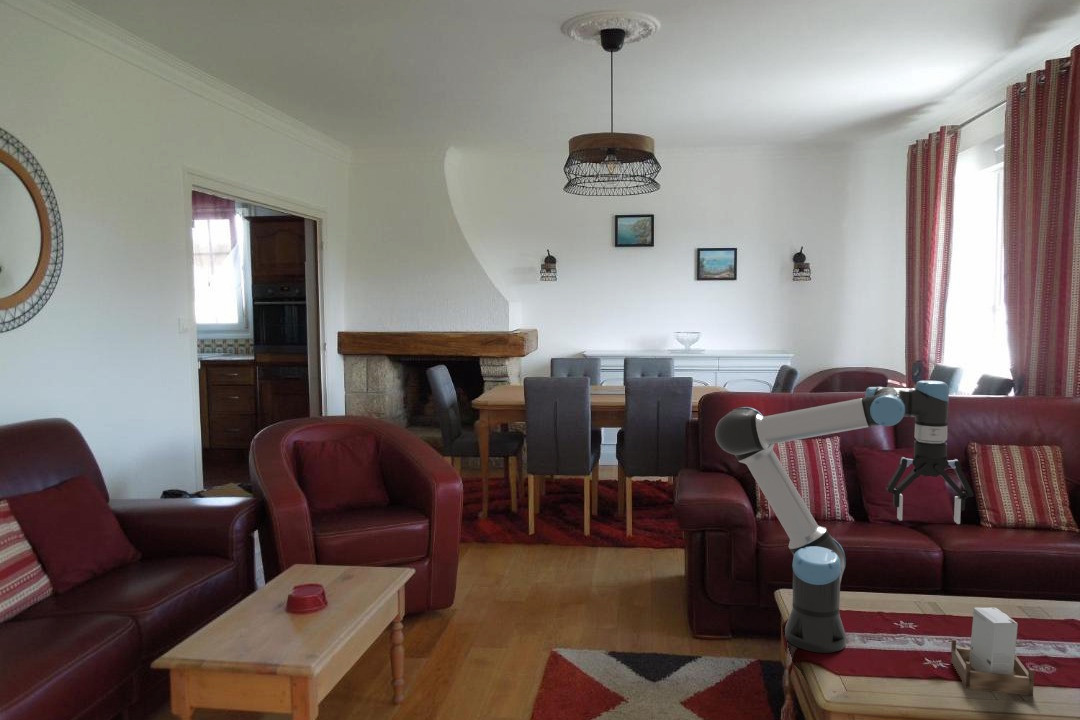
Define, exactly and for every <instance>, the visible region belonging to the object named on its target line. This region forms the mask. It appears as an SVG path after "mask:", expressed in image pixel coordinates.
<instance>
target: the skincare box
mask: <svg viewBox="0 0 1080 720" xmlns="http://www.w3.org/2000/svg"><path fill="white" fill-rule="evenodd" d="M1018 625H1019V624H1018V622H1016V621H1015V620H1014V619H1013V618H1011V617H1009V614H1006V613H1005V612H1002V611H1001V610H1000V609H998V608H997V607H973V615H972V626H971V637H970V646H969V647H970V657H969V662H970V664H971V667H972V668H973V669H974V670H976V671H979V672H989V673H998V674H1007V675H1013V670H1014V659H1015V655H1016V645H1017V637H1018Z"/></svg>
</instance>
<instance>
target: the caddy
mask: <svg viewBox="0 0 1080 720" xmlns="http://www.w3.org/2000/svg"><path fill="white" fill-rule="evenodd" d="M950 644H951V648H950V650H951V651H950V663H951V665H952V664H953V665H952V666H954V667H955V668H954V667H953V668H954V670H955V669H956V670H955V671H957V672H956V673H958V674H959V675H958V674H957V675H958V677H959V676H960V677H959V679H960V678H961V679H960V681H961V680H962V681H961V682H962V684H963V686H964V688H965V689H968V690H978V691H985V692H995V693H1004V694H1014V695H1022V696H1030V697H1031V696H1032V697H1033V696H1034V681H1035V680H1034V679H1035V670H1034V669H1033V668H1028V669H1027V668H1026V667H1025V665H1024V664H1023V663H1022V662H1021V660H1020V659H1019V658H1018V657H1017V655H1016V654H1015V659H1014V670H1013V675H1007V674H998V673H989V672H979V671H976V670H974V669H973V668H972V667H971V664H970V662H969V657H970V648H969V647H961V646H957V640H956V638H951V643H950Z"/></svg>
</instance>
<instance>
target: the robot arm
mask: <svg viewBox="0 0 1080 720" xmlns="http://www.w3.org/2000/svg"><path fill="white" fill-rule="evenodd" d="M949 392H950V391H949V385H948V384H947V382H945V381H940V380H918V381H917V382H916V384H915V387H912V388H911V387H910V388H908V387H907V388H906V387H904V388H903V387H888V386H887V387H886V386H869V387H867V388H866V390H865V397H862V398H861V397H860V398H854V399H850V400H845V401H839V402H835V403H829V404H823V405H818V406H814V407H808V408H803V409H797V410H791V411H787V412H781V413H775V414H772V415H770V414H769V415H765V416H764V415H763V414H762V413H761V412H760V411H759V410H757V409H755V408H753V407H749V406H742V407H737V408H734V409H732V410H731V411H728V413H727V414H725V415H724V416H723V417H722V418H720V419H719V421H718V422H717V424H716V427H715V431H714V436H715V441H716V443H717V445H718V446H719V448H721V450H723V451H724V452H726V453H728V454H730V455H734V456H735V458H736V459H737V461H738V462H739V463H741V464H745V465H746V467H747V468H748V469H749V471H750V473H751V475H752V477H753V478H754V480H755V481H756V483H757V485H758V487H759V488H760V490H761V492H762V493H763V496H764V497H765V499H766V501H767V502H768V504H769V505H770V507H771V510H773V512H774V514H775V516H776V517H777V519H778V521H779V522H780V524H781V526H782V528H783V529H784V531H785V533H786V534H787V537H788V538H789V544H788V548H789V550H790V552H791V553H792V555H793V559H792V565H791V567H792V605H791V606H792V608H791V611H790V614H789V616H788V619H787V622H786V624H785V628H784V636H785V640H787V642H789V643H790V644H791V645H793V646H795V647H796V648H798V649H802V650H804V651H808V652H812V653H819V654H820V653H821V654H825V653H826V654H827V653H830V654H831V653H836V651H837V652H840V651H841V650H843V649H845V647H846V646H847V634H846V630H845V628H844V625H843V622H842V619H841V615H840V603H841V601H840V600H841V599H840V595H841V582H842V577H843V575H844V571H845V569H846V564H847V563H846V560H847V559H846V554H845V551H844V549H843V547H842V545H841V544H840V543H839V542H838V541H837V540H836V539H835V538H834V537H832V536H831V534H830V532H829V530H828V529H827V527H825V526H821V525H818V523H817V521H816V520H815V518H814V516H813V515H812V513H811V510H810V509H809V508H808V506H807V504H806V503H805V501H804V500H803V498H802V496H801V495H800V492H799V491H798V490H797V487H795V483H793V481H792V480H791V478H790V476H789V475H788V473H787V471H786V470H785V467H784V466H783V465H782V463H781V461H780V459H779V458H778V456H777V454H776V452H775V451H774V448H775V444H780V443H781V444H782V443H785V442H786V443H787V442H791V441H797V440H803V439H808V438H815V437H819V436H825V435H831V434H836V433H842V432H848V431H853V430H859V429H865V428H866V429H867V428H873V427H878V426H883V427H892V426H895V425H898V423H900V422H901V421H902V420H903V418H904V417H908V418H914V438H915V440H914V443H913V457H912V458H906V457H904V456H901V457H900V460H899V463H898V467H897V468H896V470H895V472H894V474H893V475H892V476H891V478H890V480H889V481H888V483H887V485H886V486H885V489H886V491H887V492H888V494H889V493H890V494H893V497H892V498H893V499H892V501H893V502H892V504H893V506H894V508H895V507H896V508H897V510H896V513H897V514H896V518H897V519H898V521H903V514H904V513H903V507H904V506H903V505H904V503H903V502H904V495H903V494H902V493H903V492H904V491H905V490H906V489H907V488H908V487H909V486H910V485H911V484H912V483H913V482H914V481H915V480H916V479H917V478H919V477H920V476H923V477H932V478H937V477H942V479H944V481H945V482H946V483H947V484H948V485H949V487H950V488H951V489H952V490H953V491H954V492H955V493H956V494H957V495H958V496H957V495H956V496H954V505H953V506H954V508H953V511H954V512H953V513H954V514H953V522H954V523H956V524H957V525H960V524H961V512H963V511H964V512H965V509H966V500H967V498H972V497H974V496H975V495H974V492H973V490H972V488H971V486H970V484H969V482H968V480H967V478H966V476H965V474H964V472H963V471H962V466H961V465H962V463H961V461H960V460H958V459H957V458H953V460H952V459H951V460H948V458H947V457H948V443H947V442H946V441H947V440H948V424H949V423H948V422H949V419H948V418H949V405H950V400H949V399H950V398H949ZM910 465H913V467H914V468H913V469H912V470H911V471H910V473H909V474H907V475H906V476H905V478H904V479H903V480H902V481H900V480H901V478H902V476H903V475H904V473H905V471H906V469H907V468H908V467H910ZM948 466H950V467H951V469H953V470H954V473H955V474H956V476H957V478H958V480H959V482H960V484H961V486H962V488H963V490H964V491H962V490H961V488H959V486H958V485H957V484H956V483H955V482H954V480H952V478H951V477H950V476H949V475H948V474H947V473H946V471H945V470H946V469H947V468H948ZM899 481H900V483H899ZM898 483H899V484H898Z"/></svg>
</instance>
